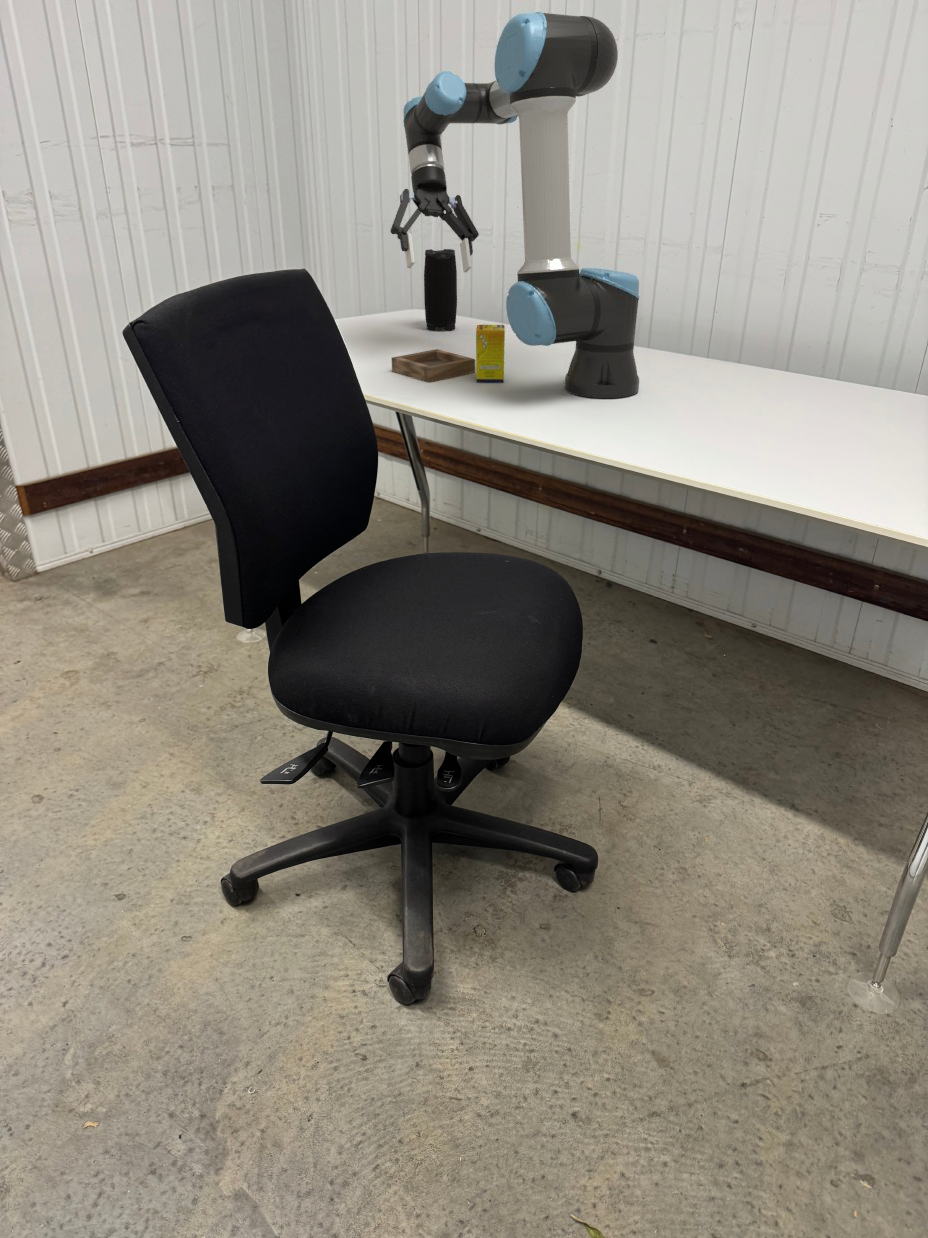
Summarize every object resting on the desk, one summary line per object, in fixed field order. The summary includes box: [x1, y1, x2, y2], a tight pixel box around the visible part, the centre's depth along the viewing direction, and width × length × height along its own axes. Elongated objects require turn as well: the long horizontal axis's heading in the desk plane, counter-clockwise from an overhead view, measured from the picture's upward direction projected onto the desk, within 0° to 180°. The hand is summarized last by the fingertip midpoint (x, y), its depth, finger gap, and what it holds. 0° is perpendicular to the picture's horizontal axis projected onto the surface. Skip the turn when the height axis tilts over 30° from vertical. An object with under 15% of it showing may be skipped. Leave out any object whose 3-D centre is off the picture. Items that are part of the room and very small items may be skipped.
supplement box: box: [475, 324, 506, 384], centre depth 188 cm, size 6×6×11 cm
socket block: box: [391, 348, 476, 383], centre depth 196 cm, size 13×13×3 cm
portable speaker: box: [423, 248, 458, 332], centre depth 234 cm, size 9×9×20 cm
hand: (439, 267), depth 195 cm, fingers open, 13 cm apart
